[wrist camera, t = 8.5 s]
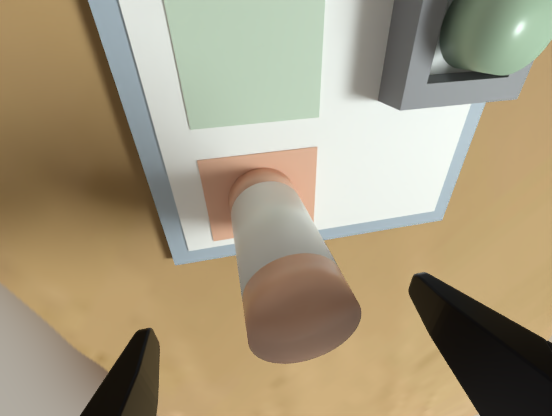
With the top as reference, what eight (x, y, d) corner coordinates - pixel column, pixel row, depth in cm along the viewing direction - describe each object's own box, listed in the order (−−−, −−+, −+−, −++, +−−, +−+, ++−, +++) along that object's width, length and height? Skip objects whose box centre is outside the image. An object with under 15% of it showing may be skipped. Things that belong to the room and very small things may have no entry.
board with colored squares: (540, -81, 11) (616, -104, 9) (436, 215, 20) (463, 238, 18) (64, -91, 9) (19, -128, 7) (176, 258, 17) (171, 291, 15)
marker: (294, 163, 14) (369, 278, 8) (294, 219, 16) (353, 349, 10) (224, 172, 14) (241, 304, 7) (232, 229, 16) (253, 373, 9)
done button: (528, -28, 11) (587, -38, 9) (494, 66, 12) (538, 72, 11) (454, -27, 10) (502, -37, 8) (430, 71, 12) (466, 78, 10)
